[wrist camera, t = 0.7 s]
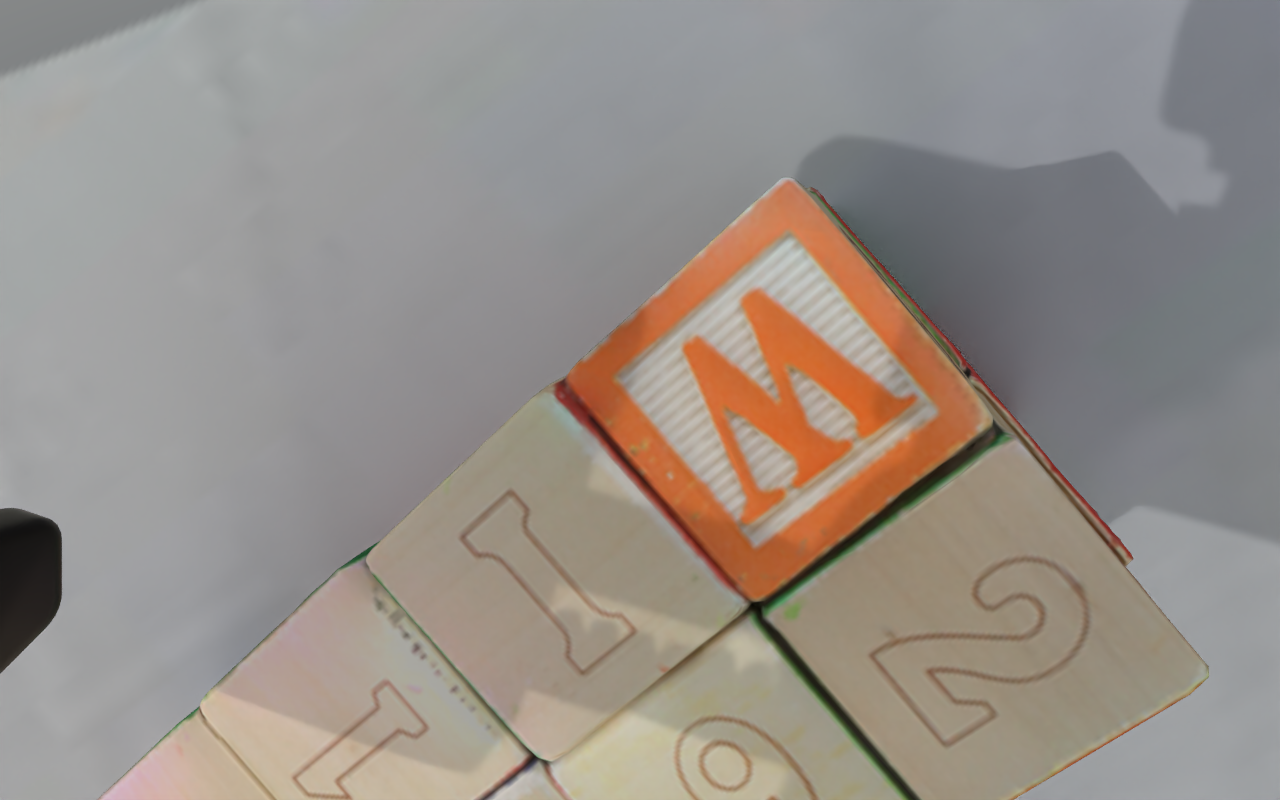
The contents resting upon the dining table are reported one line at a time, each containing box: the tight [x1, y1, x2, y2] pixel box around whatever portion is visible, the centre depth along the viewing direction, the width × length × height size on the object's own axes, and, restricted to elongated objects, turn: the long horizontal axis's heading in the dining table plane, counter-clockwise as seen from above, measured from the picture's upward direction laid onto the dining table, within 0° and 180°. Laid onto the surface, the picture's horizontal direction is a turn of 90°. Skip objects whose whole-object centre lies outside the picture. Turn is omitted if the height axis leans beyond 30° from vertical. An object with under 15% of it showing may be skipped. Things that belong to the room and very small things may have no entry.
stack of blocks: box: [97, 177, 1209, 800], centre depth 18 cm, size 21×6×12 cm, turn 131°
